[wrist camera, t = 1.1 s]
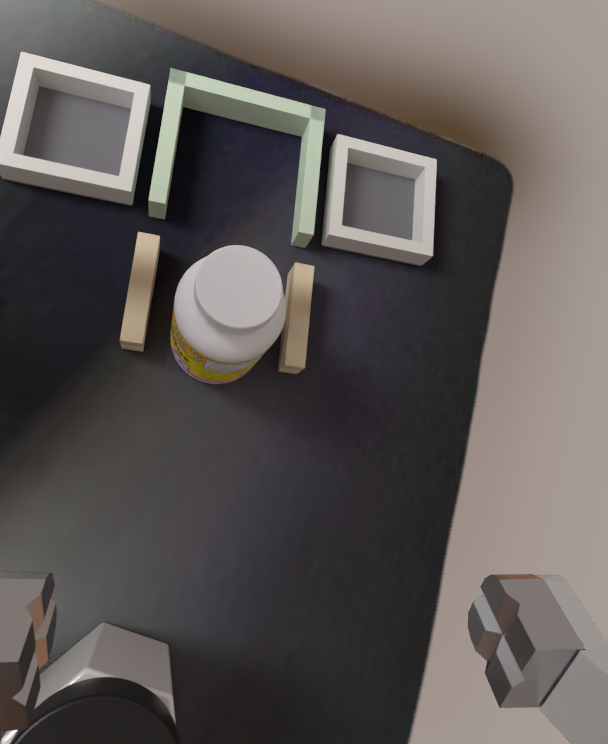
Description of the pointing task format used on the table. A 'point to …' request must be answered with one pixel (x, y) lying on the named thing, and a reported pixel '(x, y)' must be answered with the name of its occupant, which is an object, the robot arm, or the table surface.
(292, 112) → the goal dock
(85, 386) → the table surface
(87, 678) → the jar
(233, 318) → the supplement bottle
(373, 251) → the tray
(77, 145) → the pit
